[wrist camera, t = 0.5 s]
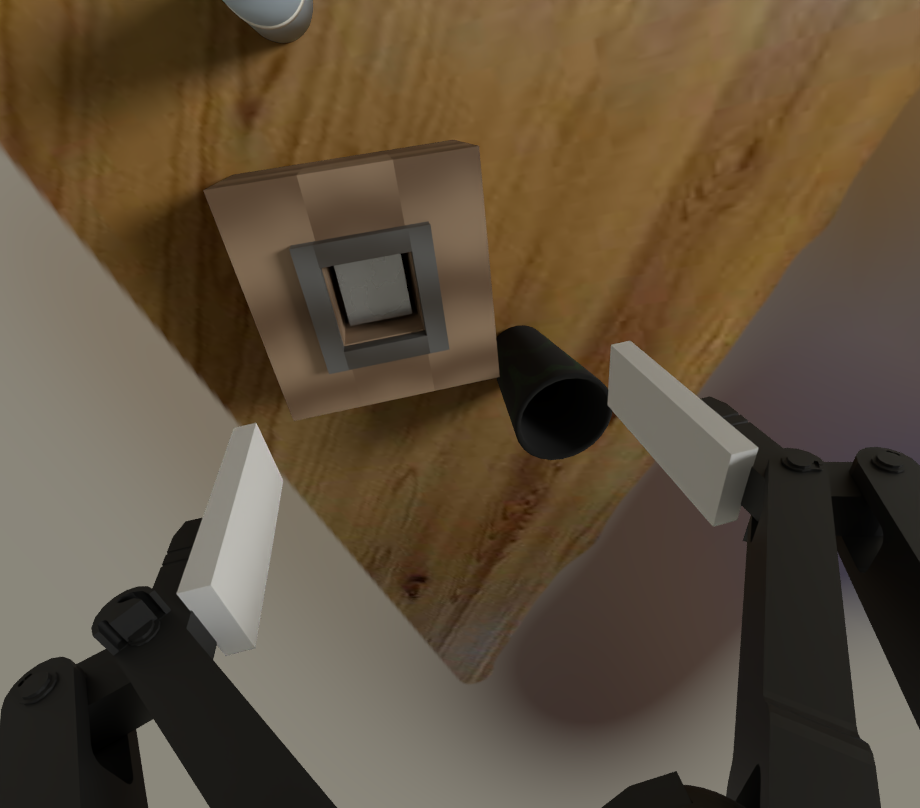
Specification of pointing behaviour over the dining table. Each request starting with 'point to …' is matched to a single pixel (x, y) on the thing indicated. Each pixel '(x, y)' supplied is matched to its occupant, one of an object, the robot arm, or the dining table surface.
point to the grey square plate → (374, 289)
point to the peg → (275, 17)
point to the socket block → (356, 239)
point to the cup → (549, 395)
